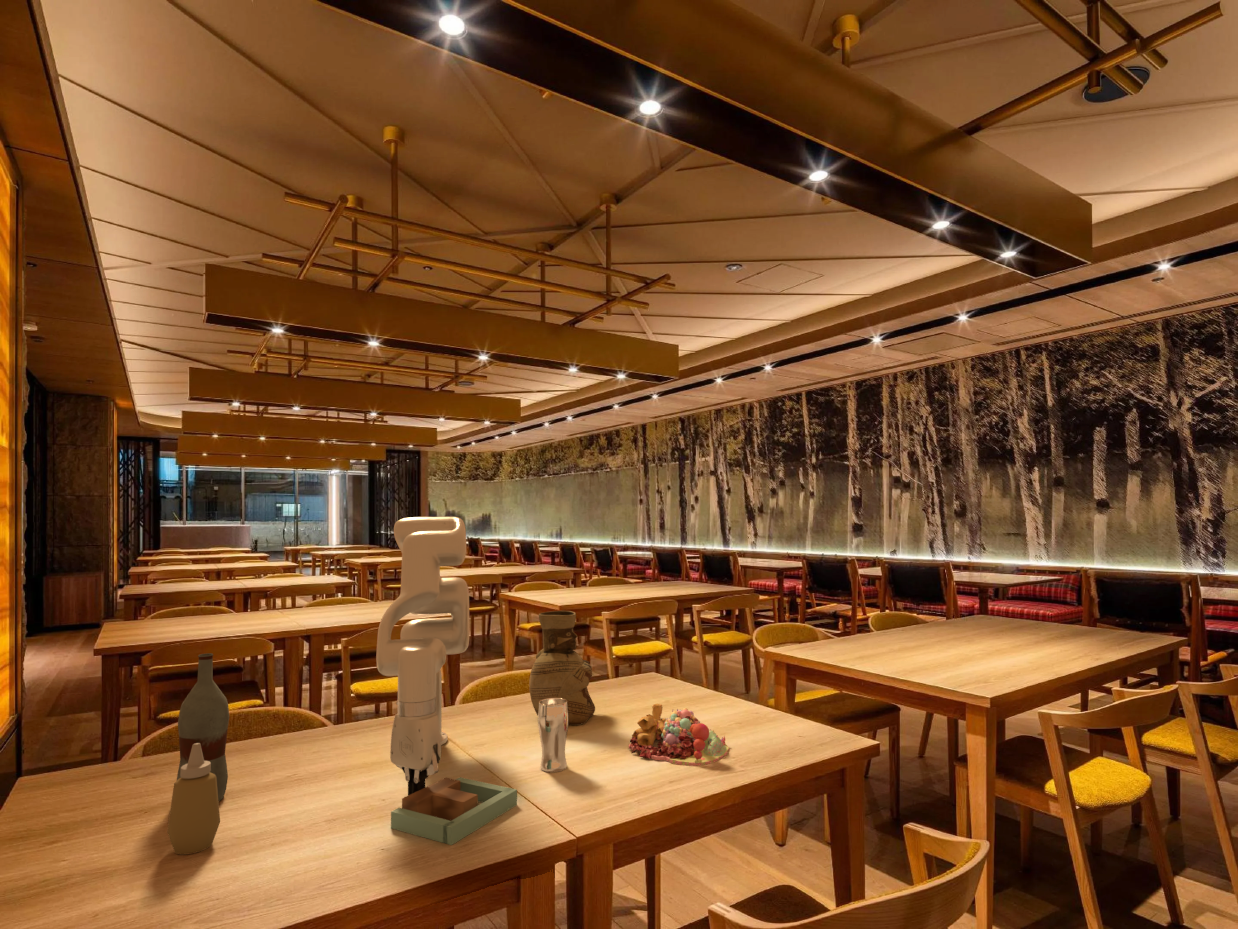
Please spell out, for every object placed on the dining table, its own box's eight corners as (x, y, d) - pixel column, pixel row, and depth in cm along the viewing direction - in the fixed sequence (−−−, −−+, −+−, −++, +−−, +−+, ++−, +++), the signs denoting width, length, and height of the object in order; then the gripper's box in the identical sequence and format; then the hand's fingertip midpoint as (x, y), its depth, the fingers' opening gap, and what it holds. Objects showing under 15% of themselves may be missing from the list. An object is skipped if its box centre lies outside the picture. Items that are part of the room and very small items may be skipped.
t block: (401, 820, 132) (401, 798, 132) (445, 797, 143) (445, 777, 143) (448, 832, 126) (448, 810, 127) (491, 808, 137) (490, 787, 137)
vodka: (172, 813, 137) (177, 660, 139) (177, 797, 145) (181, 653, 148) (226, 803, 141) (230, 655, 144) (228, 788, 150) (231, 648, 152)
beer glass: (564, 774, 154) (563, 705, 156) (534, 772, 156) (533, 704, 157) (572, 763, 161) (571, 697, 162) (543, 761, 163) (543, 697, 164)
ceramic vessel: (614, 716, 199) (612, 611, 201) (558, 733, 184) (556, 619, 186) (572, 704, 212) (570, 606, 215) (516, 719, 198) (515, 613, 200)
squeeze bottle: (182, 838, 126) (185, 738, 127) (228, 836, 127) (230, 736, 128) (156, 860, 118) (159, 752, 119) (205, 857, 119) (208, 750, 120)
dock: (390, 828, 129) (391, 811, 129) (460, 791, 145) (460, 777, 146) (451, 845, 122) (451, 827, 122) (517, 805, 138) (516, 789, 138)
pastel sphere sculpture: (615, 758, 165) (614, 719, 166) (647, 729, 187) (646, 695, 187) (717, 770, 156) (716, 729, 156) (738, 739, 178) (737, 702, 178)
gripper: (376, 707, 140) (375, 800, 139) (430, 716, 133) (430, 814, 132) (404, 698, 147) (404, 787, 145) (457, 707, 140) (457, 800, 138)
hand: (416, 800), depth 138 cm, fingers closed
